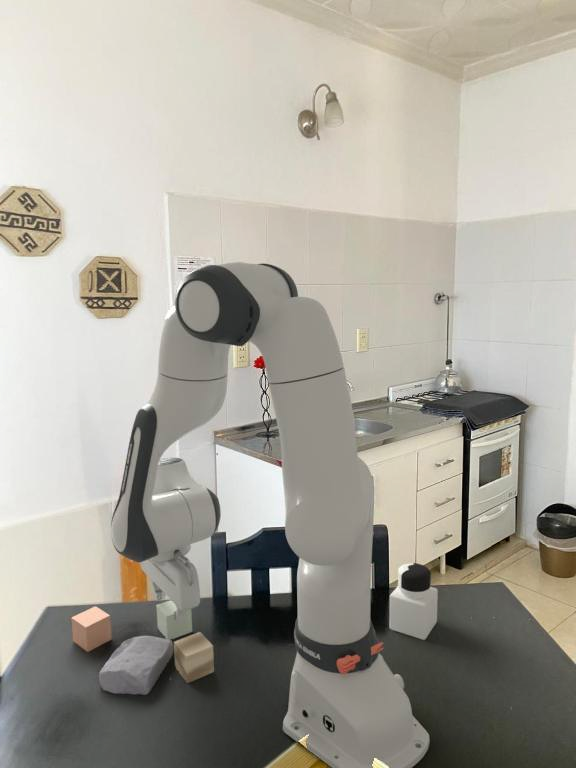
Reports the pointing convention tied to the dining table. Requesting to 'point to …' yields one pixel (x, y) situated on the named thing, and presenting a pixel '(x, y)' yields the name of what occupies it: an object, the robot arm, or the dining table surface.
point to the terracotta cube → (91, 628)
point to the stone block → (136, 665)
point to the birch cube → (194, 657)
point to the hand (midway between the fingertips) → (169, 609)
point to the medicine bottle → (413, 602)
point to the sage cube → (172, 621)
